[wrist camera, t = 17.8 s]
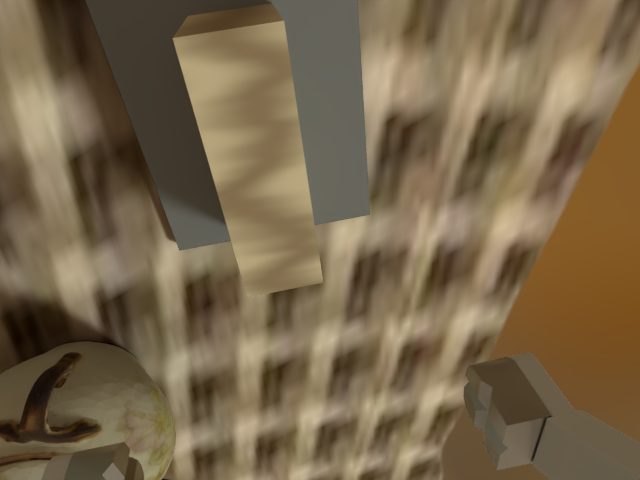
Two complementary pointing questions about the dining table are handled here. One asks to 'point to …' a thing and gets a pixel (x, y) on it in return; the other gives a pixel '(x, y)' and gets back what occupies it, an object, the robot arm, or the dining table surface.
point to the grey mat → (181, 126)
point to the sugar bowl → (82, 410)
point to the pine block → (253, 142)
